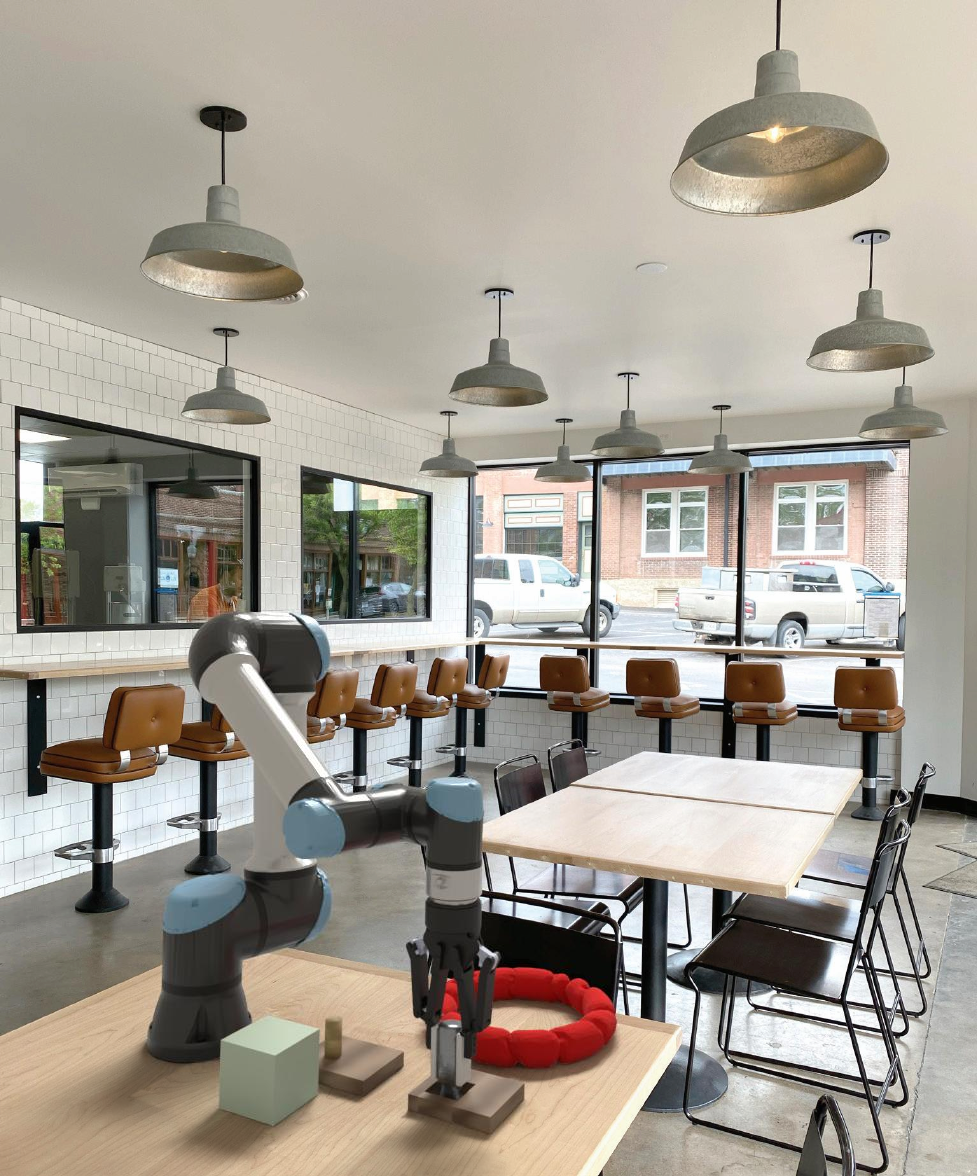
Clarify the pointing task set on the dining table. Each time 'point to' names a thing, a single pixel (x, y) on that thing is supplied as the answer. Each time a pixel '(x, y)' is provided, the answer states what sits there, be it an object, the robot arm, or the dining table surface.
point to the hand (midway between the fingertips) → (450, 1077)
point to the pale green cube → (269, 1069)
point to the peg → (448, 1060)
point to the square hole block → (470, 1101)
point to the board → (354, 1061)
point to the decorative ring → (540, 1044)
